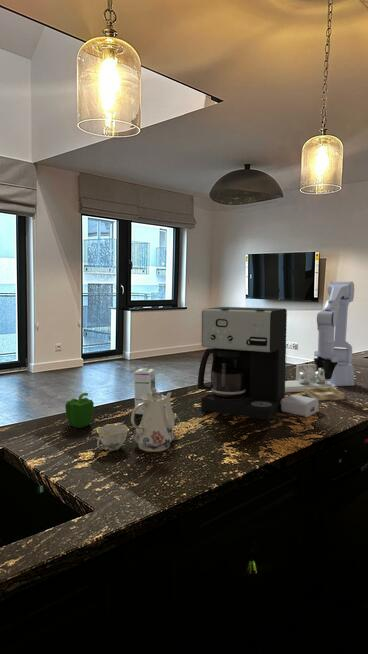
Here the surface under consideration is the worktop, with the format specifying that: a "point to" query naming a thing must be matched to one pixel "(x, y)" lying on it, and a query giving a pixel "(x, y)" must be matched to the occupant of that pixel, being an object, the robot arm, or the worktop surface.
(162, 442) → the chinaware
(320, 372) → the cylinder
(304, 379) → the spacer
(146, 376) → the syrup box
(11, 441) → the worktop surface
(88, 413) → the bell pepper
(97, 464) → the worktop surface
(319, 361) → the robot arm
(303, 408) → the charger
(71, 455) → the worktop surface
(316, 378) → the cylinder
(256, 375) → the coffee maker
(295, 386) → the scale
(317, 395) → the tray
